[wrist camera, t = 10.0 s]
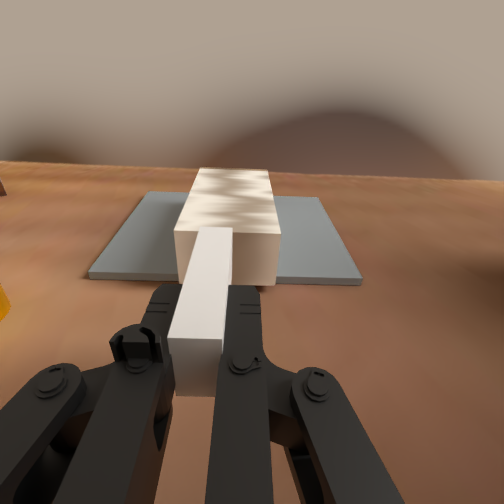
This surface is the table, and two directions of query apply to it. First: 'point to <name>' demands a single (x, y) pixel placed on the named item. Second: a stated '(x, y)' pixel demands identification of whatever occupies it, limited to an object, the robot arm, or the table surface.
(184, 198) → the mat
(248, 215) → the tall block
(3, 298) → the element tile
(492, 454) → the table surface
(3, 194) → the food container
